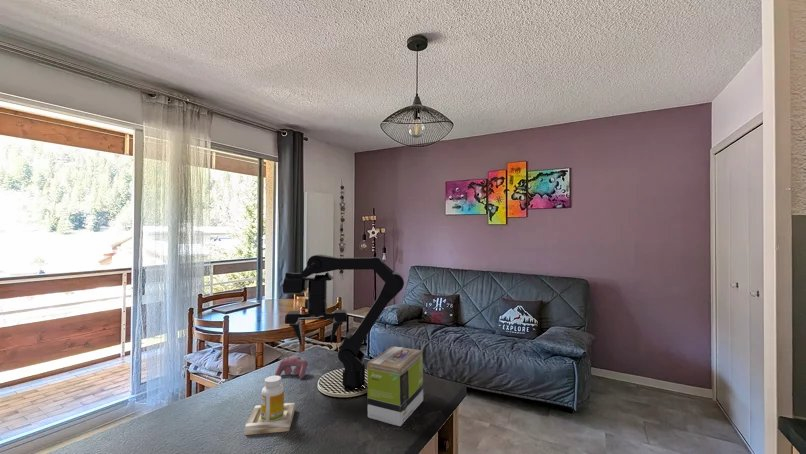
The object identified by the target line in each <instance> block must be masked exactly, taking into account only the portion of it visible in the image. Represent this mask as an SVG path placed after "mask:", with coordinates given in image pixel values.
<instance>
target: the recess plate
mask: <svg viewBox="0 0 806 454" xmlns="http://www.w3.org/2000/svg"><path fill="white" fill-rule="evenodd" d="M295 406H296V403H295V402H285V403H284V414H283V417H282V418H281V419H280V420H278V421H270V422H263V421H262V420H261V404H259V405H258V404H257V405H255V406H254V408H253V410H252V412H251V414H250V415H249V417H248V420H247V421H246V423H245V426H244V436H249V435H261V434H271V433H281V432H282V433H283V432H289V431H290V430H291V429H290V428H291V425H292V421H293V419H294V414H295V410H296V409H295V408H296V407H295Z"/></svg>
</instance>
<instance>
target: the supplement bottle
mask: <svg viewBox="0 0 806 454" xmlns="http://www.w3.org/2000/svg"><path fill="white" fill-rule="evenodd" d="M260 399H261V400H260V401H261V402H260V405H261V420H262V421H263V422H270V421H278V420H280V419H281V418H282V417H283V414H284V402H285V386H284V385H283V384H282V376H281V375H280V376H275V375H270V376H267V377H266V378H265V379H264V387H263V388H262V389H261V396H260Z"/></svg>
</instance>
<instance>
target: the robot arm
mask: <svg viewBox="0 0 806 454" xmlns="http://www.w3.org/2000/svg"><path fill="white" fill-rule="evenodd" d="M337 270H341V271H342V270H343V271H344V270H347V271H351V270H353V271H355V270H373V271H374V272H375V273H376V274H377V275H378V277H379V278H380V279H381V280H382V281H384V282H383V285H382V288H381V290H380V292H379V294H378V296H377V298H376V299H375V301H374V302H373V303H372V305H371V307H370V308H369V310H368V312H367V313H366V315H365V316H364V317H363V319H362V321H361V322H360V323H359V325H358V326H357V328H356V329H355V331H354V332H353V333H350V332H349V331H348V332H347V334H346V336H345V337H344V339H343V340H342V341H341V342H340V344H339V346H338V348H337V349H338V352H337V357H338V360H339V362H340V363H342V364H343V368H344V369H342V386H343V390H344V389H345V390H344V391H348V390H347V389H355V388H364V387H363V386H362V385H365V386H366V365H365V363H364V361H365V358H366V354H365V353H364V352H363V351H362V350H361V348H362V345H363V343H364V340H365V339H366V337H367V335H368V334H369V333H370V331H371V330H372V328H373V326H374V325H375V324H376V322H377V321H378V319H379V317H380V316H381V314H382V313H383V312H384V311H385V308H386V307H387V305H388V304H389V303H390V302H391V301H392V300H393V299H394V298H395V297H396V296H397V295H398V294H399V293H400V292H401V291H402V290H403V288H404V285H405V280H404V277H403V275H402V274H401V273H399V272H397V271H394V270H392V268H390V267H389V266H388V264H386V263H385V262H384V261H383V259H382V258H381V257H378V256H374V257H335V256H332V255H327V254H315V255H312V256H310V257H309V258H308V260H307V261H306V266H305V268H304V269H303V270H302V272H286V273H284V275H285V277H284V279H283V282H282V288H281V289H282V293H283V294H284V295H303V294H304V293H305V292H306V291H307V298H305V300H304V310H307V313H301V311H300V310H289V311H288V312H287V313H286V314H285V317H284V324H285V325H288V326H289V327H291V328H292V329H293V330H294V332H295V334H296V337H297V340H298V341H299V344H300V346H302V345H303V332H302V331H303V330H302V321H307V320H310V321H311V320H333V321H332V327H331V335H330V345H331V344H333V342H334V339H335V335H336V333H337V331H338V328H339V327H340V326H341V325H343V324H344V323H346V322H347V321H348V312H347V311H348V310H346V309H335V310H334V312H327V311H328V303H327V290H328V289H327V288H328V286H327V285H328V284H327V283H328V282H329V281H332V280H333V279H334V277H333V276H332V275H331V274H330V273H329V272H333V271H337ZM322 273H323V274H322ZM324 273H325V274H324ZM314 274H315V275H314ZM312 275H314V277H310V276H312ZM361 386H362V387H361Z"/></svg>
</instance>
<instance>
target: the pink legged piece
mask: <svg viewBox="0 0 806 454" xmlns="http://www.w3.org/2000/svg"><path fill="white" fill-rule="evenodd" d="M308 364H309V363H308V361H307V360H306V359H304V358H302V357H299V356H288V357H283V359H281V361H280V362H279V363H278V366H277V368H276V370H275V373H274V374H275V375H274V376H281V374H282V373H283V371H284V374H285V375H288V376H290V375H291V374H292V373H293V375H295V376H299V379H300V380H302V379H304V376H305V375H306V371H307V367H308V366H309V365H308ZM292 367H295V368H294V369H292Z"/></svg>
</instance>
